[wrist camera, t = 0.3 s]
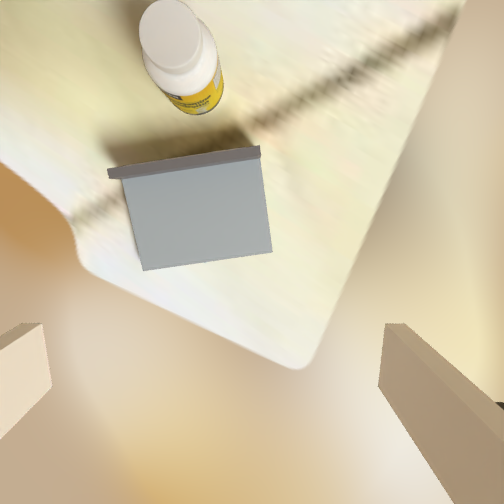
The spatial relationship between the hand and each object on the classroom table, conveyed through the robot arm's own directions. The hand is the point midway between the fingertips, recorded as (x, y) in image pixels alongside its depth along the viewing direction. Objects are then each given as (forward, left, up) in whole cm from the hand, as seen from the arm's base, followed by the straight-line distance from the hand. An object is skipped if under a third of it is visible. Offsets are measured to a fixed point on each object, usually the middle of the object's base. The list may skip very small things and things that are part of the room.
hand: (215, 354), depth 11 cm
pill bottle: (-18, -2, -27) cm, 32 cm away
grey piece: (-4, -4, -26) cm, 27 cm away
